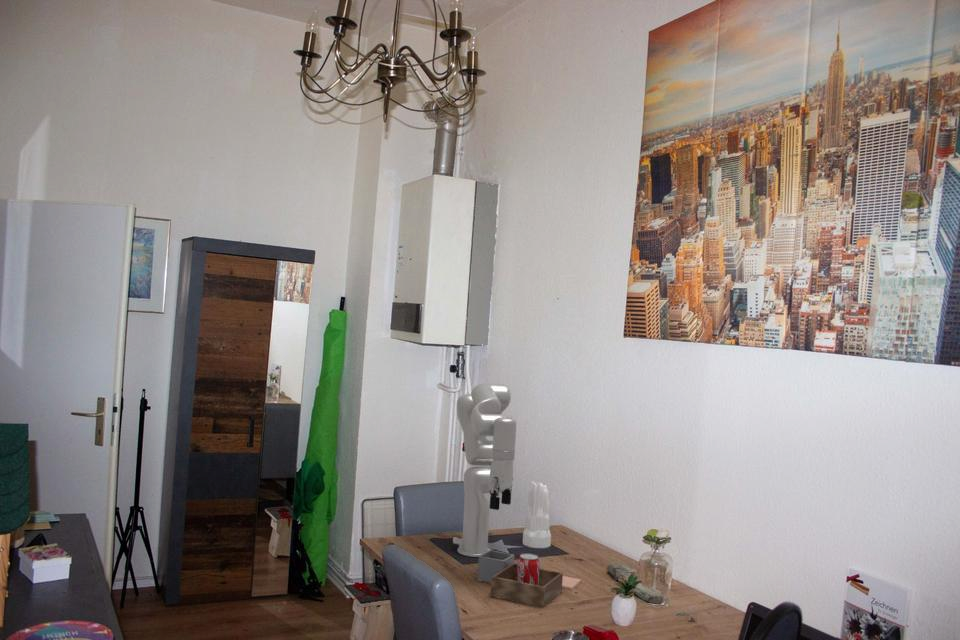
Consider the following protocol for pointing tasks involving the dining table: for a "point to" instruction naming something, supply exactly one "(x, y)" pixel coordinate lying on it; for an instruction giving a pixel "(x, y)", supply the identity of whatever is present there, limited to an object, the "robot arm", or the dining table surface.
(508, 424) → the robot arm
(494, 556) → the charcoal crate
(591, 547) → the dining table surface
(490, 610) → the dining table surface
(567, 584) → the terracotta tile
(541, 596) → the walnut crate
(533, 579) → the soda can
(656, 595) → the long grey stone
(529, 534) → the decorative vase
